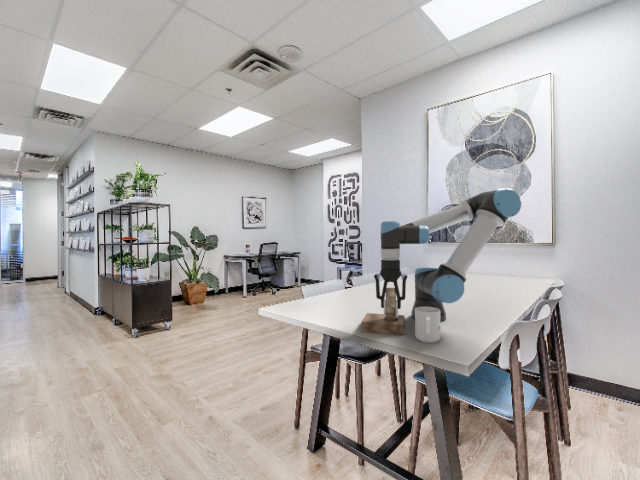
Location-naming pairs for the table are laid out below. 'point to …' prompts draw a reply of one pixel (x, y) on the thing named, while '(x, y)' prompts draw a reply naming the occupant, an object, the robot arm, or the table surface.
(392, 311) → the peg
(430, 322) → the mug
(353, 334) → the table surface
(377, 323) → the board
